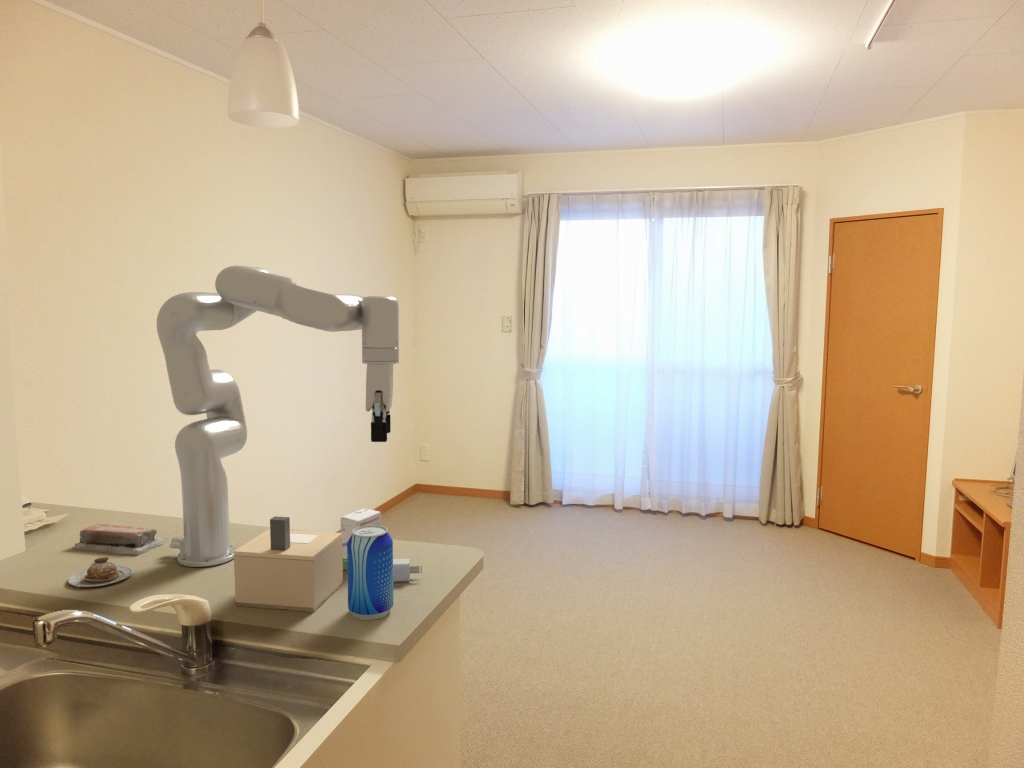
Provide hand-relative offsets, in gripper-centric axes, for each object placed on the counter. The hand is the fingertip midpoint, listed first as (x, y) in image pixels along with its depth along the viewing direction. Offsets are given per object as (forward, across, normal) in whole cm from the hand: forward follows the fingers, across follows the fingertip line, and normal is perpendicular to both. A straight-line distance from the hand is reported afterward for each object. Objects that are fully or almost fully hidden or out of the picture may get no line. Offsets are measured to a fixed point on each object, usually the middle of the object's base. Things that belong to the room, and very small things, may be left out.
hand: (381, 437), depth 151 cm
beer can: (+30, +19, -1) cm, 36 cm away
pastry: (+31, -3, -59) cm, 66 cm away
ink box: (+30, -6, -5) cm, 31 cm away
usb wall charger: (+30, +2, +5) cm, 31 cm away
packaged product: (+31, -24, -64) cm, 75 cm away
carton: (+30, +9, -17) cm, 36 cm away
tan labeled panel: (+20, +9, -17) cm, 28 cm away
